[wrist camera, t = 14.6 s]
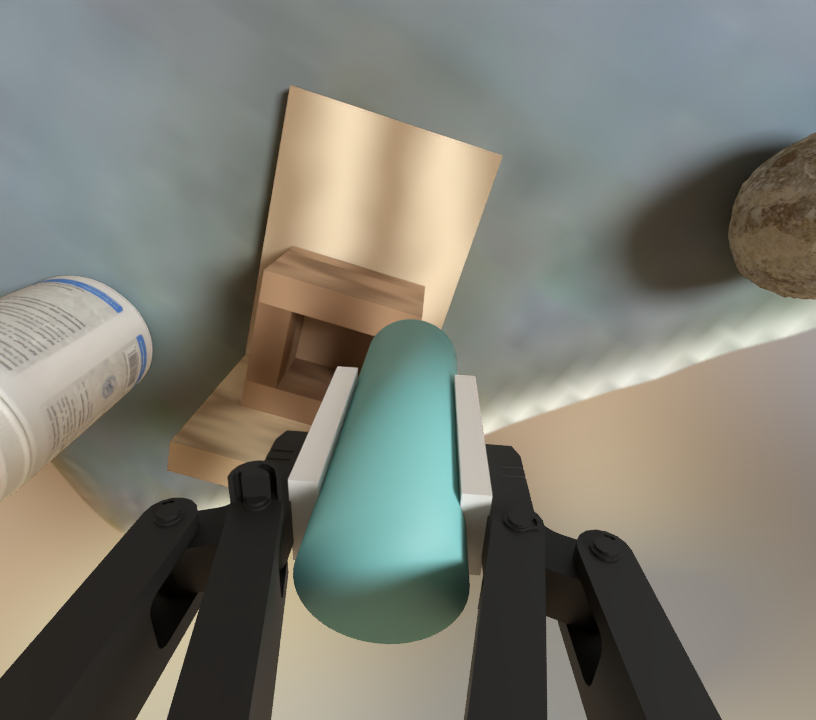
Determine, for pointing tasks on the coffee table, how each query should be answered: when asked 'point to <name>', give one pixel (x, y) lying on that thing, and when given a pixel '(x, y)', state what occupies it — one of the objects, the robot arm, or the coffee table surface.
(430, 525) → the dowel
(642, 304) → the coffee table surface
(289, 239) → the jig
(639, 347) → the coffee table surface
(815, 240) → the decorative stone
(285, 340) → the block
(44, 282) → the supplement tub
